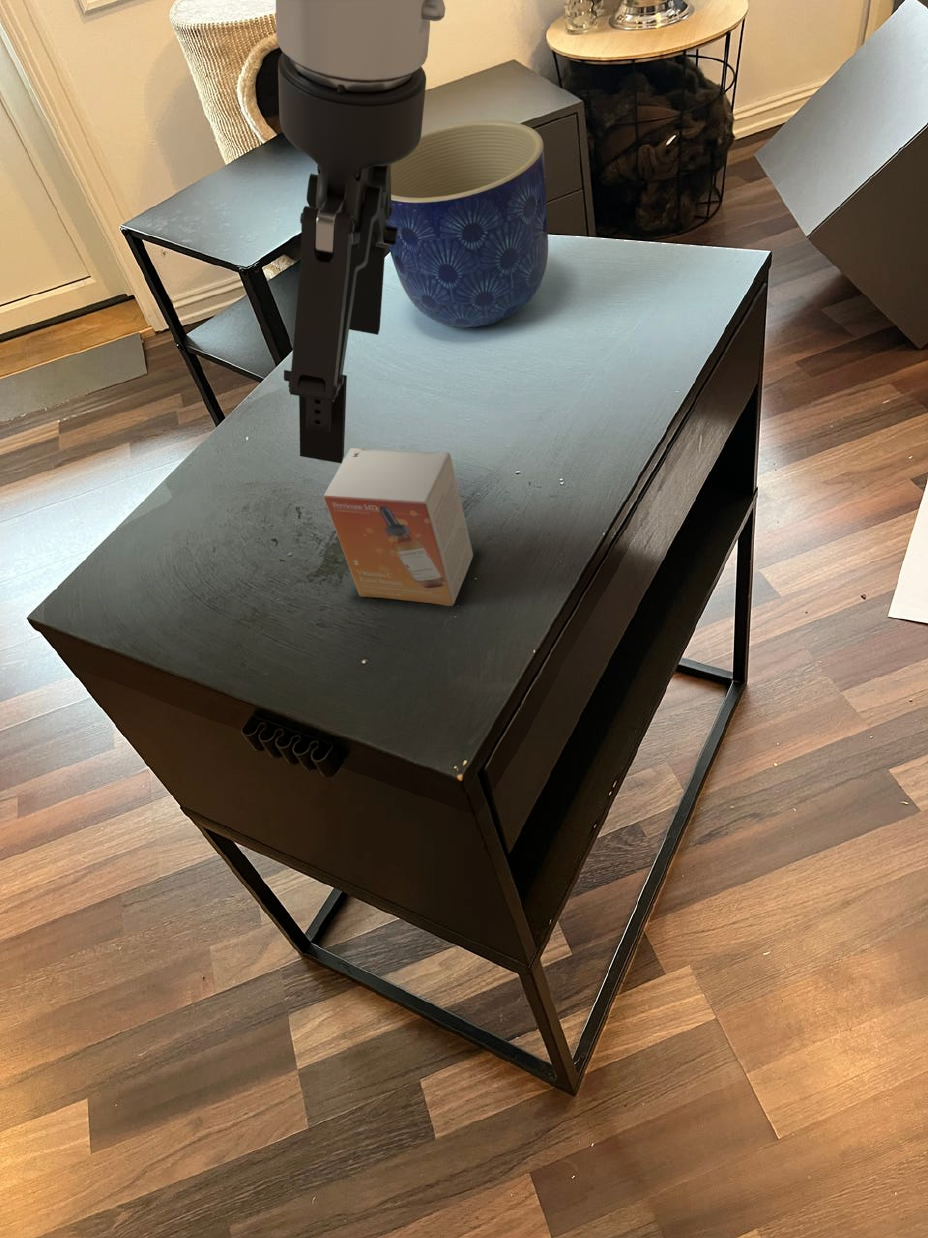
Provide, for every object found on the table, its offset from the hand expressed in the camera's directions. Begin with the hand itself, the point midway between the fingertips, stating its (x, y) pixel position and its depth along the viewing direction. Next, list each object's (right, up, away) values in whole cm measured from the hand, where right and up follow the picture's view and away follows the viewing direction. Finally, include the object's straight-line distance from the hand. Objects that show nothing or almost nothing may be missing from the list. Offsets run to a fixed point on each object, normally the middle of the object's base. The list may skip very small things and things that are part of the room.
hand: (342, 388), depth 64 cm
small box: (+5, -13, +9) cm, 16 cm away
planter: (+10, +18, +35) cm, 40 cm away
